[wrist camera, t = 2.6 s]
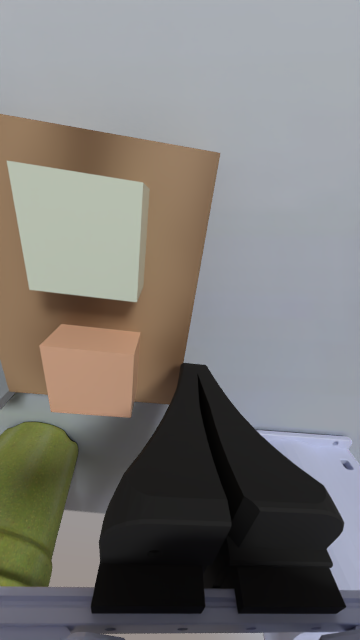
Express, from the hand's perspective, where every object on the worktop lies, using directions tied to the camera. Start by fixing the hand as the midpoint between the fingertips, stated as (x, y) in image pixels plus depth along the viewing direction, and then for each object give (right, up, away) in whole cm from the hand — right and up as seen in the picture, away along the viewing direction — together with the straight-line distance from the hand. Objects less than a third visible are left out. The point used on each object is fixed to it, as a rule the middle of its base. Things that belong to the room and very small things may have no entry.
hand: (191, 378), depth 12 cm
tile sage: (-4, +7, -2) cm, 8 cm away
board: (-5, +5, +1) cm, 7 cm away
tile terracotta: (-5, +1, 0) cm, 5 cm away
